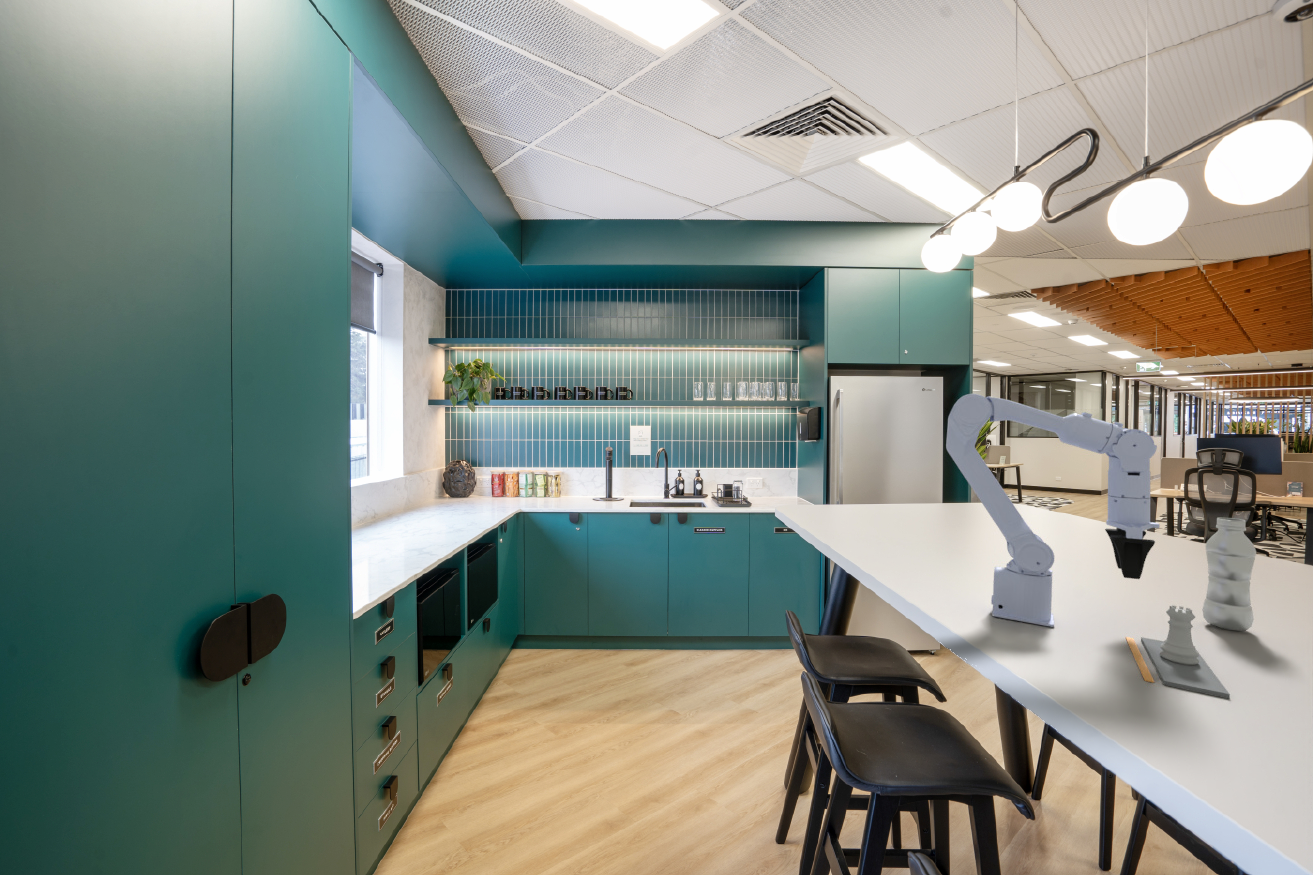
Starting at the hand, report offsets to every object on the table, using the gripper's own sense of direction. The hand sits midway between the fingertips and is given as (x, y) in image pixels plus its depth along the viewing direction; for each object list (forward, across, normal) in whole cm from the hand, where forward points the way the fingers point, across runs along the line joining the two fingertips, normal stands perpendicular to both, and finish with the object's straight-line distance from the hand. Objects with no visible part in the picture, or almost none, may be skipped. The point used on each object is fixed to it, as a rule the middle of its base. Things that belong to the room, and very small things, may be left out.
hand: (1128, 573), depth 97 cm
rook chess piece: (+10, -13, -4) cm, 17 cm away
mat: (+10, -14, -4) cm, 18 cm away
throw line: (+10, -14, 0) cm, 18 cm away
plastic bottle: (+11, +14, -15) cm, 23 cm away
